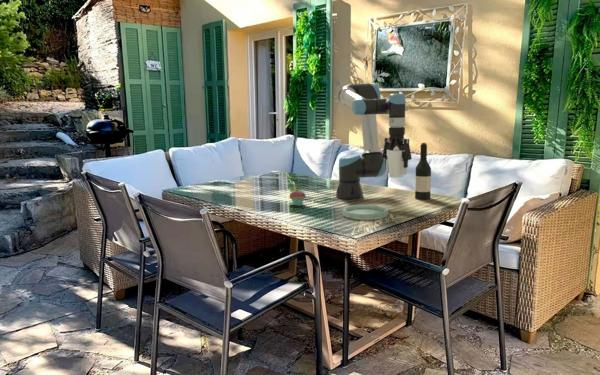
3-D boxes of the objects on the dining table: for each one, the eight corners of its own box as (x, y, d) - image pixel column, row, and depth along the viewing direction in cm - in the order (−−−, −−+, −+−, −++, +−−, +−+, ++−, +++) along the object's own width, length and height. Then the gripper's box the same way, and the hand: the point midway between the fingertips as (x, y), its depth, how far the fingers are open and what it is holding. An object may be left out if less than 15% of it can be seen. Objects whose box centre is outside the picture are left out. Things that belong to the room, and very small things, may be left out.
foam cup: (406, 178, 212) (406, 150, 210) (386, 178, 214) (386, 150, 212) (405, 175, 221) (406, 148, 219) (386, 175, 223) (386, 149, 221)
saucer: (335, 217, 206) (335, 211, 206) (353, 208, 223) (353, 203, 223) (377, 221, 196) (377, 216, 195) (393, 212, 213) (393, 207, 212)
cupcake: (294, 206, 231) (293, 183, 229) (286, 203, 238) (286, 181, 236) (308, 204, 234) (308, 182, 232) (301, 201, 242) (300, 180, 240)
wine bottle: (427, 200, 238) (429, 143, 233) (412, 199, 243) (413, 143, 238) (432, 197, 245) (433, 142, 240) (417, 196, 250) (418, 142, 245)
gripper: (374, 126, 220) (374, 171, 224) (409, 127, 202) (408, 176, 206) (385, 126, 225) (385, 170, 228) (420, 126, 207) (419, 174, 210)
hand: (396, 173), depth 217 cm, fingers closed on foam cup, 9 cm apart
